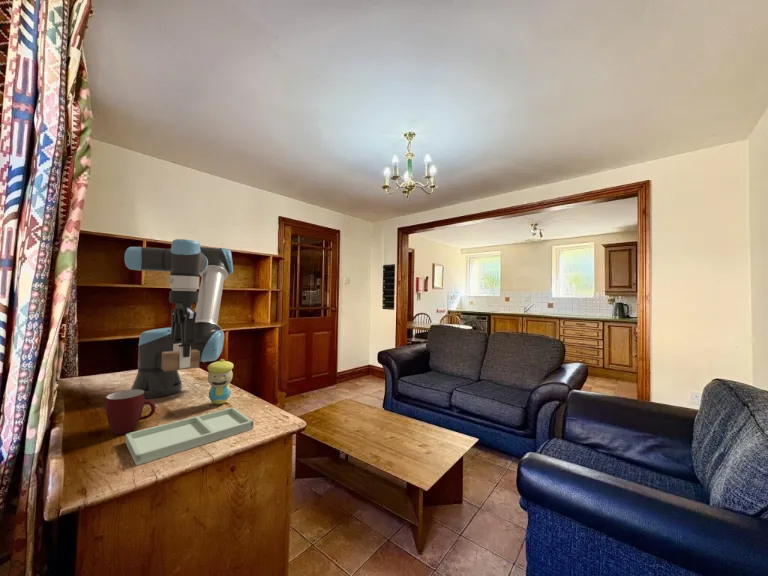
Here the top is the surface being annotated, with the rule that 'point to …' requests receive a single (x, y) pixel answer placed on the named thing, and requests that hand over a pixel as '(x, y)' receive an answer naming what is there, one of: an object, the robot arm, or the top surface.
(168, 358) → the brown rectangular block
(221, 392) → the toy
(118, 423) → the mug
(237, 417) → the jig
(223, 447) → the top surface
